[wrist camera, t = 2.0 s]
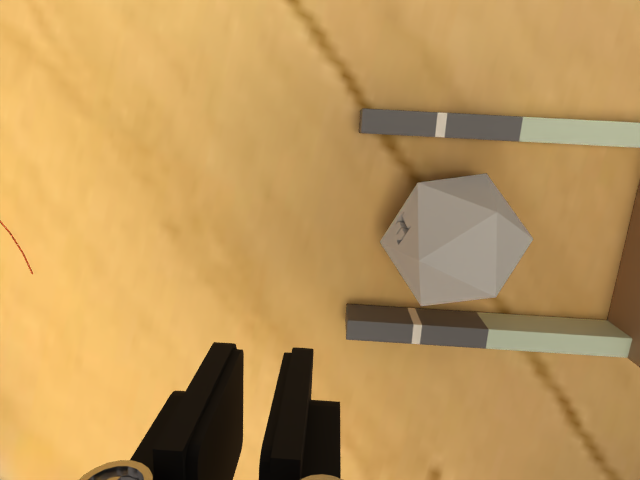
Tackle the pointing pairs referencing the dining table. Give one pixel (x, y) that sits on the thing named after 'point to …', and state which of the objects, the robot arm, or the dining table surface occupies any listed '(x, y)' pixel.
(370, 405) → the dining table surface
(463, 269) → the die
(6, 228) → the figurine
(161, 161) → the dining table surface
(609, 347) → the trap lane
